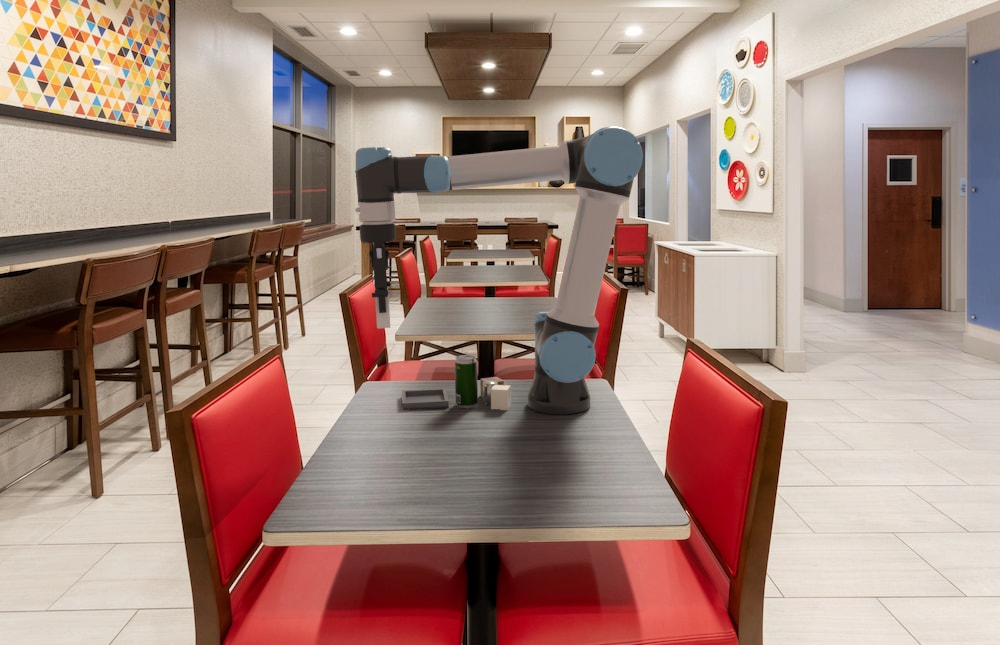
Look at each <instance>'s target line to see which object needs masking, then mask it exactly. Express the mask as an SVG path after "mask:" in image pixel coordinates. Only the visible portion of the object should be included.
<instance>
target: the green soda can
mask: <svg viewBox="0 0 1000 645" xmlns="http://www.w3.org/2000/svg"><path fill="white" fill-rule="evenodd" d="M454 386H455V404H456V406H457V408H461V409H470V408H475V407H476V406H478V402H479V398H478V395H479V394H478V360H477V356H475V355H472V354H460V355H457V356H455V359H454ZM474 406H475V407H474Z"/></svg>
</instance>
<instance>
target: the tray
mask: <svg viewBox="0 0 1000 645" xmlns="http://www.w3.org/2000/svg"><path fill="white" fill-rule="evenodd" d="M401 393H402V394H401V396H402V397H401V398H402V399H401V401H402V402H401V403H402V410H403V411H405V410H423V409H424V410H425V409H440V408H441V409H442V408H444V409H446V408H449V406H450V404H449V397H448V393H447V389H446V387H445V388H443V387H442V388H429V389H428V388H427V389H426V388H425V389H424V388H423V389H408V390H407V389H406V390H405V389H404V390H401Z"/></svg>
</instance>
